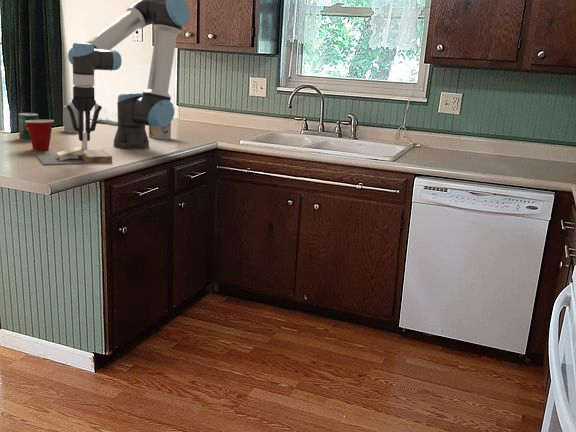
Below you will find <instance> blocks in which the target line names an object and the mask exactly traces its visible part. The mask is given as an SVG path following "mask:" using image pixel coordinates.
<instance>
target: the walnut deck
mask: <svg viewBox="0 0 576 432" xmlns="http://www.w3.org/2000/svg"><path fill="white" fill-rule="evenodd" d="M84 152H85V154H84V155H80V156H77V157H78V158H79V159H80V160H81V161H83V162H84V165H85V164H86V163H88V164H112V163H113V156H112V155H111V154H109V153H108V152H107V151H105V150H104V149H87V150H84Z"/></svg>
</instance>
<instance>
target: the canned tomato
mask: <svg viewBox="0 0 576 432" xmlns="http://www.w3.org/2000/svg"><path fill="white" fill-rule="evenodd" d="M17 115H18V128H19V129H18V131H19V133H18V134H19V140H20V141H26V142H27V141H28V142H31V138H30V134H29V129H28V126H27V124H26V122H25V121H27V120H39V114H38V113H35V112H34V113H33V112H20V113H18V114H17Z"/></svg>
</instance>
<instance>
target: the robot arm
mask: <svg viewBox="0 0 576 432" xmlns="http://www.w3.org/2000/svg"><path fill="white" fill-rule="evenodd" d="M190 11H191V10H190V7H189V5H188V2H187V1H186V0H138V1H136V2H134V3H133V4H132V5H130V6H129V7H128V8H127V9H126V13H124V14H123V15H121V16H120V17H119V18H117V19H116V20H115V21H113V22H112V23H110V24H109V25H108V26H107V27H105V28H104V29H103V30H101V31H100V32H99V33H97V34H96V35H94V37H93V36H92V37H91V39H89V40H88V41H87V42H85V43H84V42H73V44H72V46H71V47H72V48H70V49H69V50H68V52H67V58H68V61H69V63H70V64H71V65H72V85H73V86H72V99H71V102H70V103H68V104H65V106H66V108H67V109H68V111H69V114H70V118H71V121H72V125H73V129H74V130H75V131H78V132H79V133H78V140H79V141H80V142H81V147H82V148H83V149H84V150H88V142H90V140H91V133H92V132H95V131H96V127H97V124H98V122H97V119H98V115H99V112H100V110H101V109H103V107H102V106H101V105H100V104H99V103H97V102H96V100H95V99H96V98H95V87H94V86H95V71H110V72H111V71H117V70H120V68H121V66H122V55H121V54H120V52H119V51H117V50H113V48H114V47H117V45H119V44H120V43H121V42H123V40H125V39H126V38H128V37H129V36H130V35H132V34H133V33H134V32H135V31H137V30H138V29H144V28H145V27H146V26H149V25H152V27H153V28H154V30H155V36H154V42H153V48H152V49H153V50H152V56H151V62H150V68H149V74H148V83H147V86H146V87H147V88H146V89H145V90H144V91H142V92H141V93H140V92H137V93H136V92H135V93H120V94H118V97H117V102H116V104H117V113H118V125H117V129H116V131H115V132H116V133H115V135H114V139H113V147H115V148H118V149H119V148H120V149H128V150H142V149H148V148H149V147H150V140H149V136H148V134H147V131H146V126H148V127H149V126H152V127H165V126H167V125H168V124H169V123H170V122H171V123H172V121H173V120H174V117H175V107H174V103H172V102H171V100H172V99H171V98H172V97H171V95H170V93H169V87H170V82H171V77H172V70H173V69H172V67H173V61H174V57H175V51H176V50H175V49H176V43H177V37H178V35H179V34H181V32H182V31H183V30H182V29H183V27H184V26H186V25H187V24H188V23H189V22H190V21H189V20H190V18H191V17H190V16H191V12H190ZM73 106H75V108H76V109H77V110H78V127H77V123H76V119H75V116H74V112H73V110H72V109H73ZM94 108H95V111H94V115H93V119H92V121H91V120H90V111H91V110H92V109H94ZM83 112H84V130H85V131H84V132H83Z"/></svg>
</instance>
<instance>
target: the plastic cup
mask: <svg viewBox="0 0 576 432" xmlns="http://www.w3.org/2000/svg"><path fill="white" fill-rule="evenodd" d="M25 122H26V124H27V126H28V129H29V134H30V138H31V141H30V142H31V145H32V149H33V150H34V151H39V152H41V151H44V152H45V151H49V148H50V144H51V143H50V142H51V137H52V129H53V124H54V122H55V120H54V119H38V120H27V121H25Z"/></svg>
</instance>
